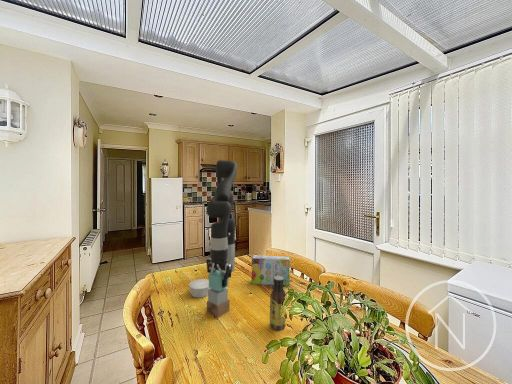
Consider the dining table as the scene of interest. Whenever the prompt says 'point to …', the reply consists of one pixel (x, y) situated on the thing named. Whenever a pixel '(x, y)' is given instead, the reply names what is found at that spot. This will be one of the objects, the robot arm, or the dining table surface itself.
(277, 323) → the sauce bottle
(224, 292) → the block
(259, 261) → the snack box
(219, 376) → the dining table surface
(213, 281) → the teal cube
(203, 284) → the ramekin
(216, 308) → the tower base
